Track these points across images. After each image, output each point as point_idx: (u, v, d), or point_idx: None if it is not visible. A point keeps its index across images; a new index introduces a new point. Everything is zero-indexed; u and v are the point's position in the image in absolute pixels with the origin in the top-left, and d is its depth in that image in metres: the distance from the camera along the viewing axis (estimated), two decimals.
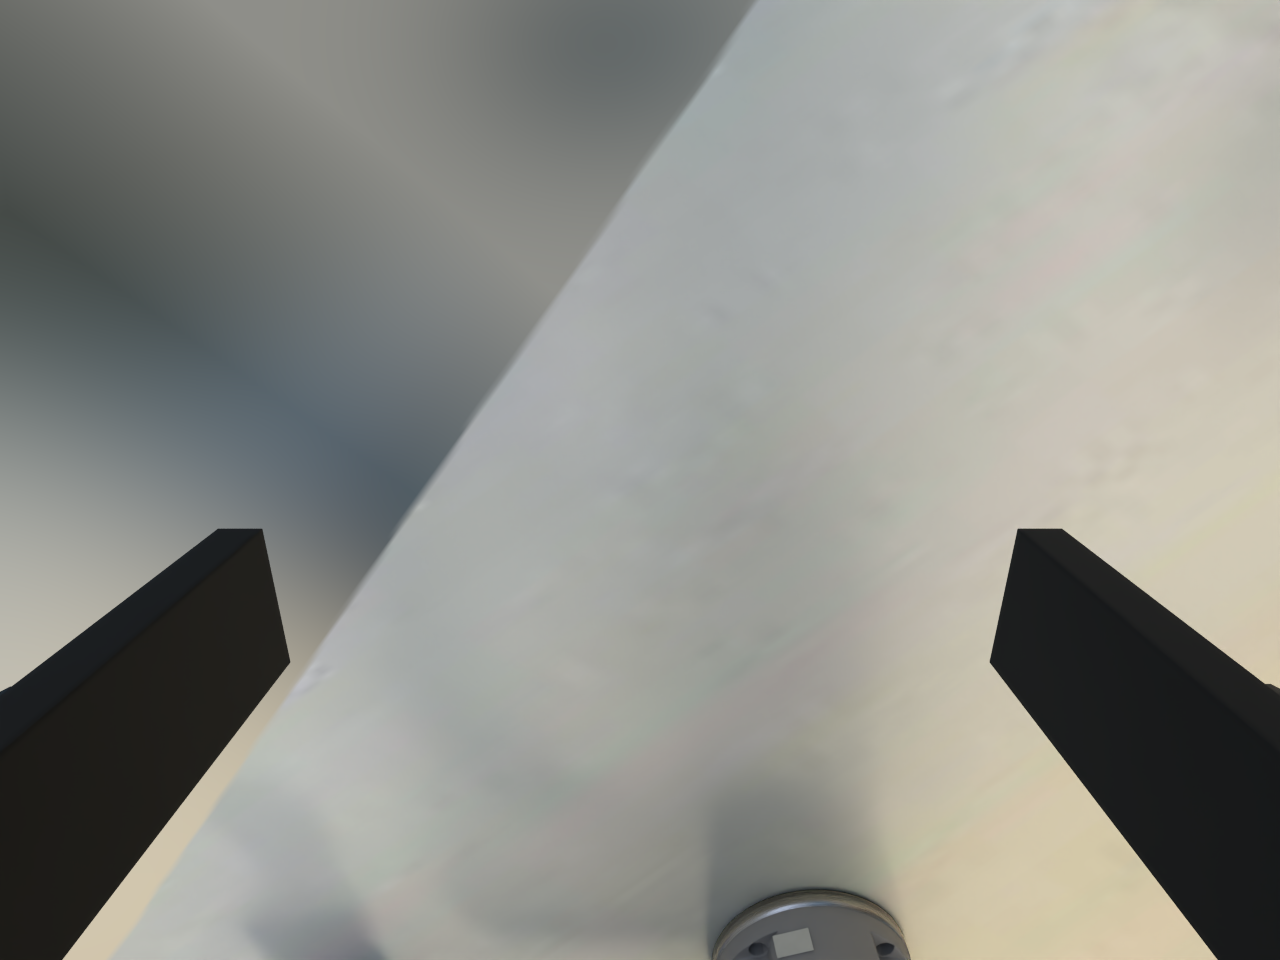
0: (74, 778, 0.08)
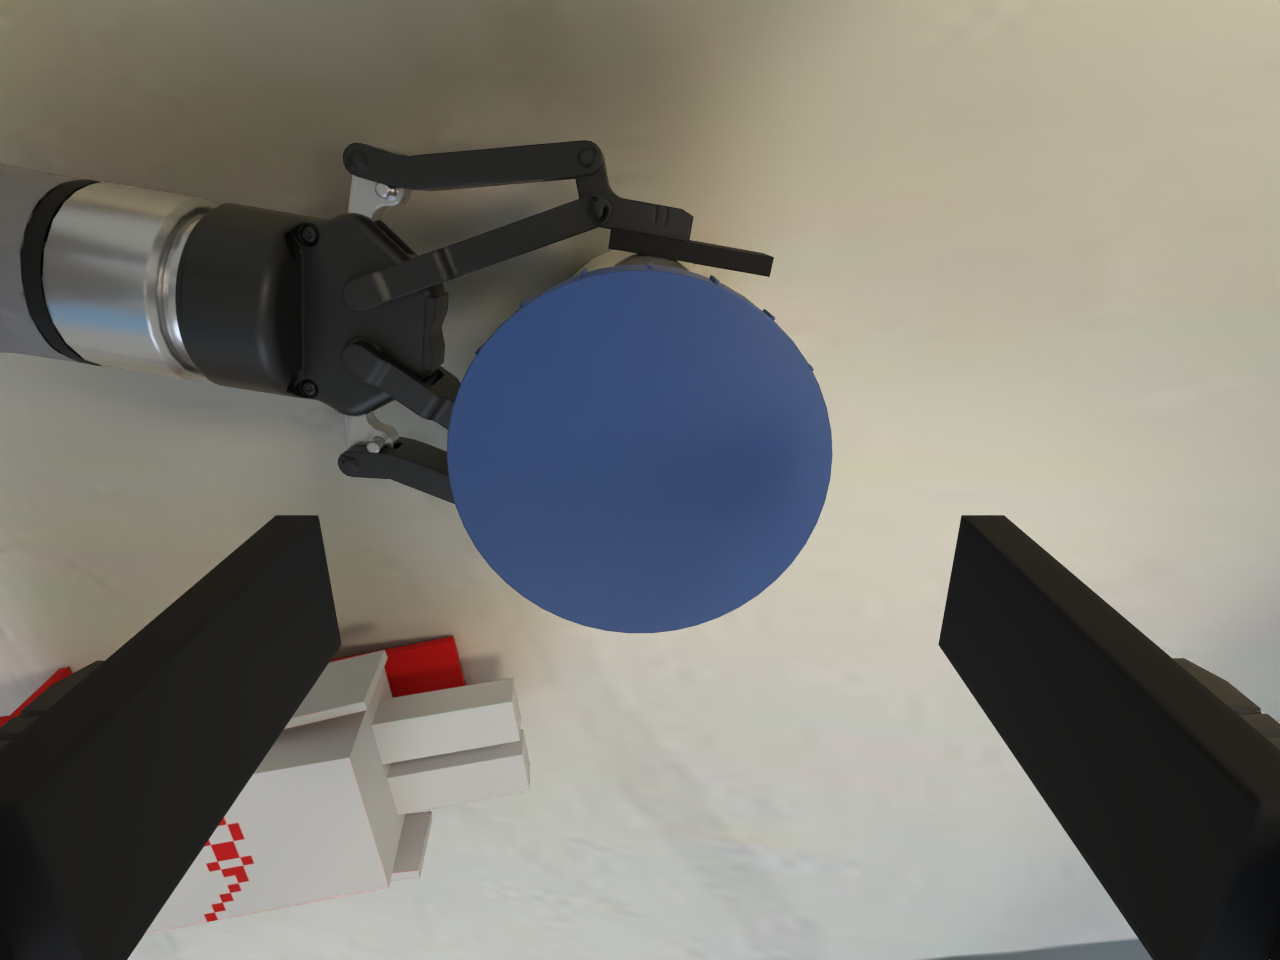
0: (168, 743, 0.09)
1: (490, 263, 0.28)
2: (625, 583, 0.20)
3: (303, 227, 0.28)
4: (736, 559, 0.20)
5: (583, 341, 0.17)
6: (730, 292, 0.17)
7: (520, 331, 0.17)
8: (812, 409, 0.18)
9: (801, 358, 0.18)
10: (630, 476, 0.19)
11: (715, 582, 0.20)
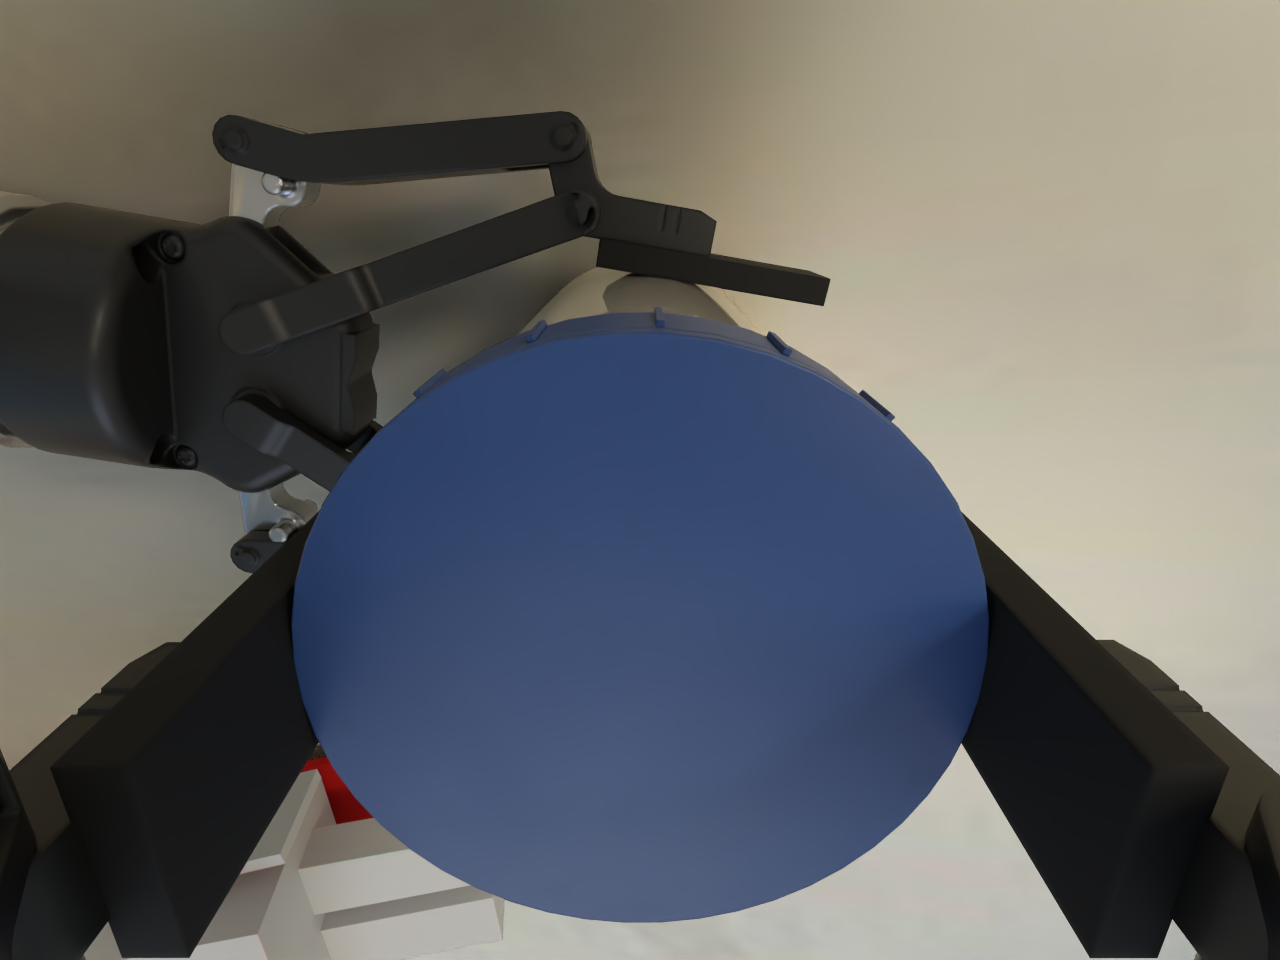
0: (243, 719, 0.09)
1: (429, 287, 0.20)
2: (615, 852, 0.12)
3: (164, 236, 0.20)
4: (807, 817, 0.11)
5: (533, 463, 0.09)
6: (816, 374, 0.09)
7: (413, 445, 0.09)
8: (958, 581, 0.10)
9: (945, 494, 0.09)
10: (623, 690, 0.10)
11: (769, 851, 0.12)
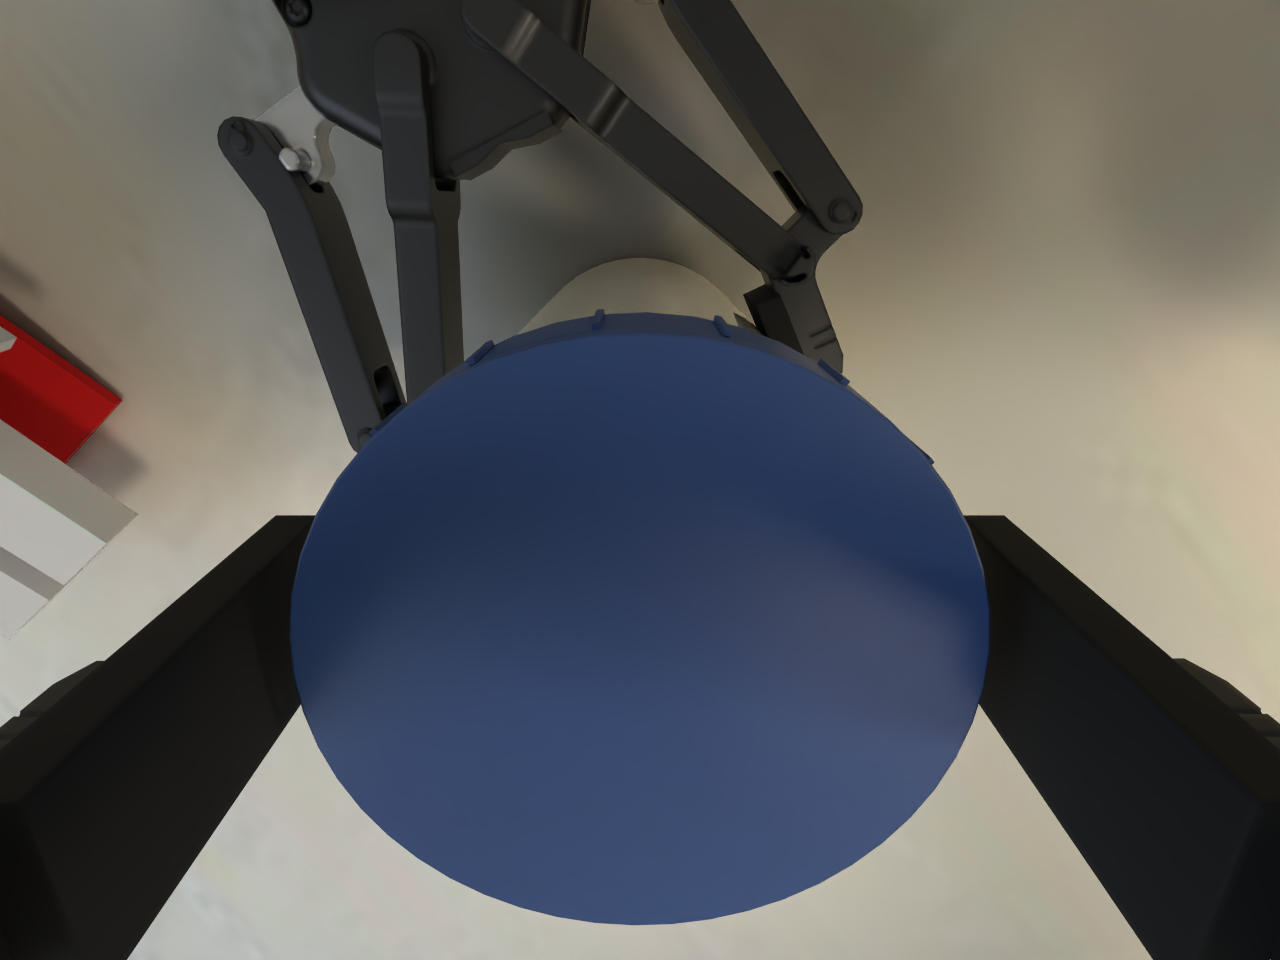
0: (167, 743, 0.09)
1: (646, 171, 0.19)
2: (779, 817, 0.11)
3: None
4: (899, 671, 0.10)
5: (396, 605, 0.10)
6: (489, 363, 0.09)
7: (319, 663, 0.10)
8: (785, 390, 0.09)
9: (687, 341, 0.09)
10: (638, 698, 0.10)
11: (901, 722, 0.11)
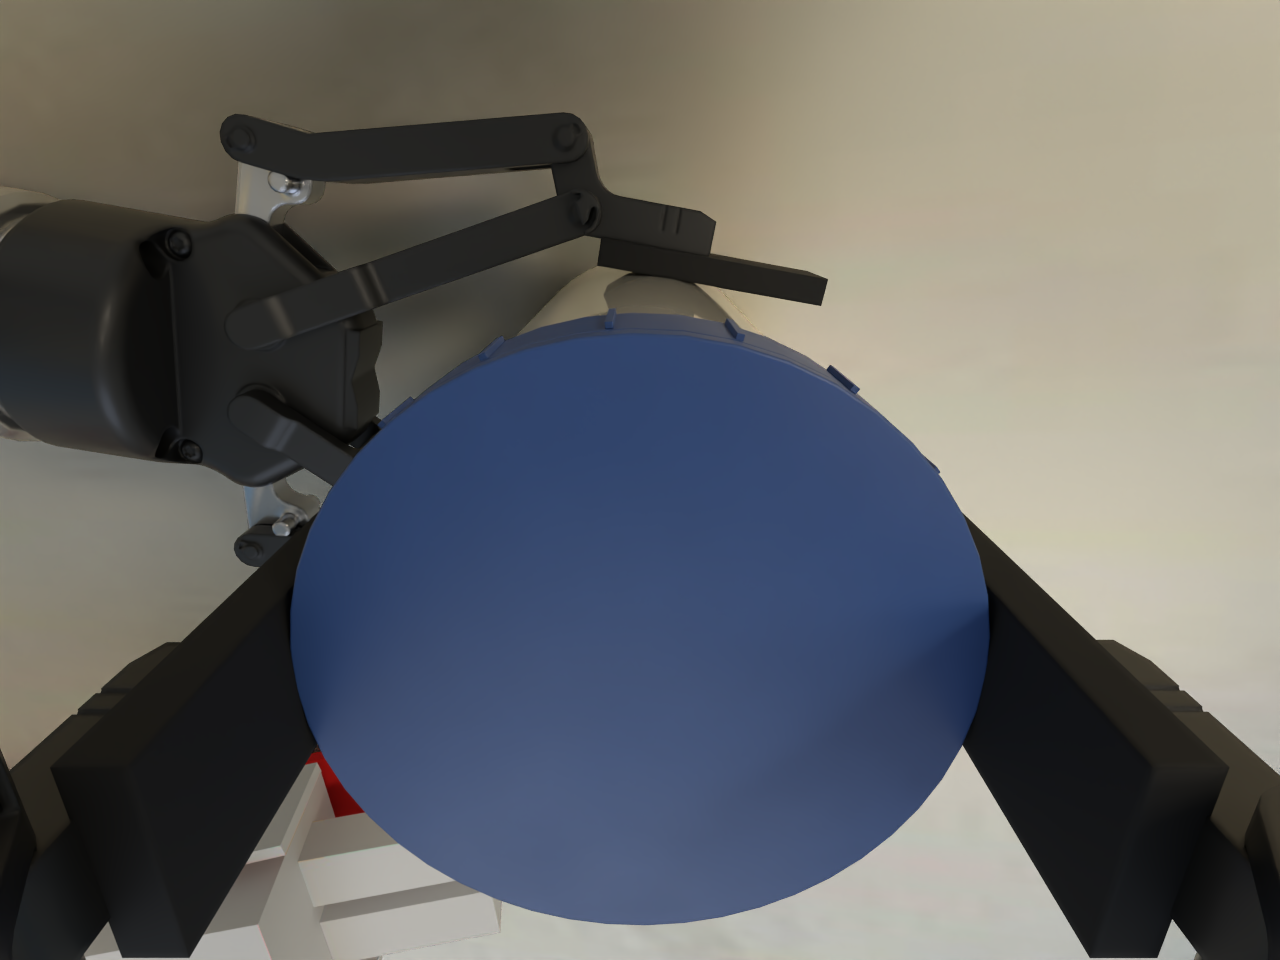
0: (243, 718, 0.09)
1: (433, 285, 0.20)
2: (875, 663, 0.10)
3: (171, 232, 0.20)
4: (795, 478, 0.09)
5: (448, 790, 0.11)
6: (290, 610, 0.10)
7: (462, 863, 0.12)
8: (439, 420, 0.09)
9: (352, 468, 0.09)
10: (656, 692, 0.10)
11: (855, 507, 0.09)
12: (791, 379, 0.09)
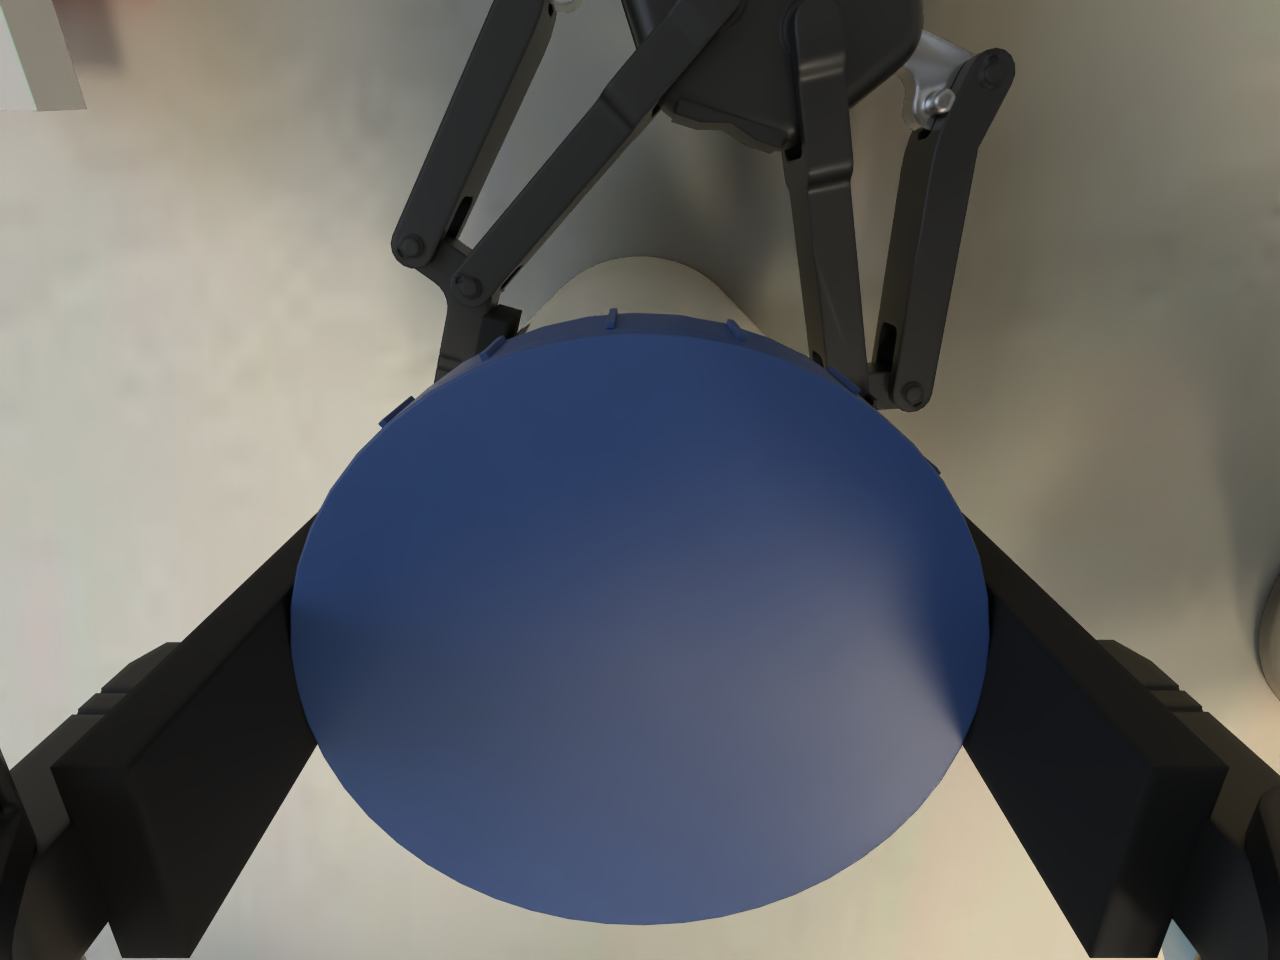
0: (243, 719, 0.09)
1: (815, 244, 0.20)
2: (875, 664, 0.10)
3: None
4: (796, 478, 0.09)
5: (447, 789, 0.11)
6: (290, 609, 0.10)
7: (461, 863, 0.12)
8: (440, 419, 0.09)
9: (353, 467, 0.09)
10: (656, 692, 0.10)
11: (856, 507, 0.09)
12: (792, 379, 0.09)
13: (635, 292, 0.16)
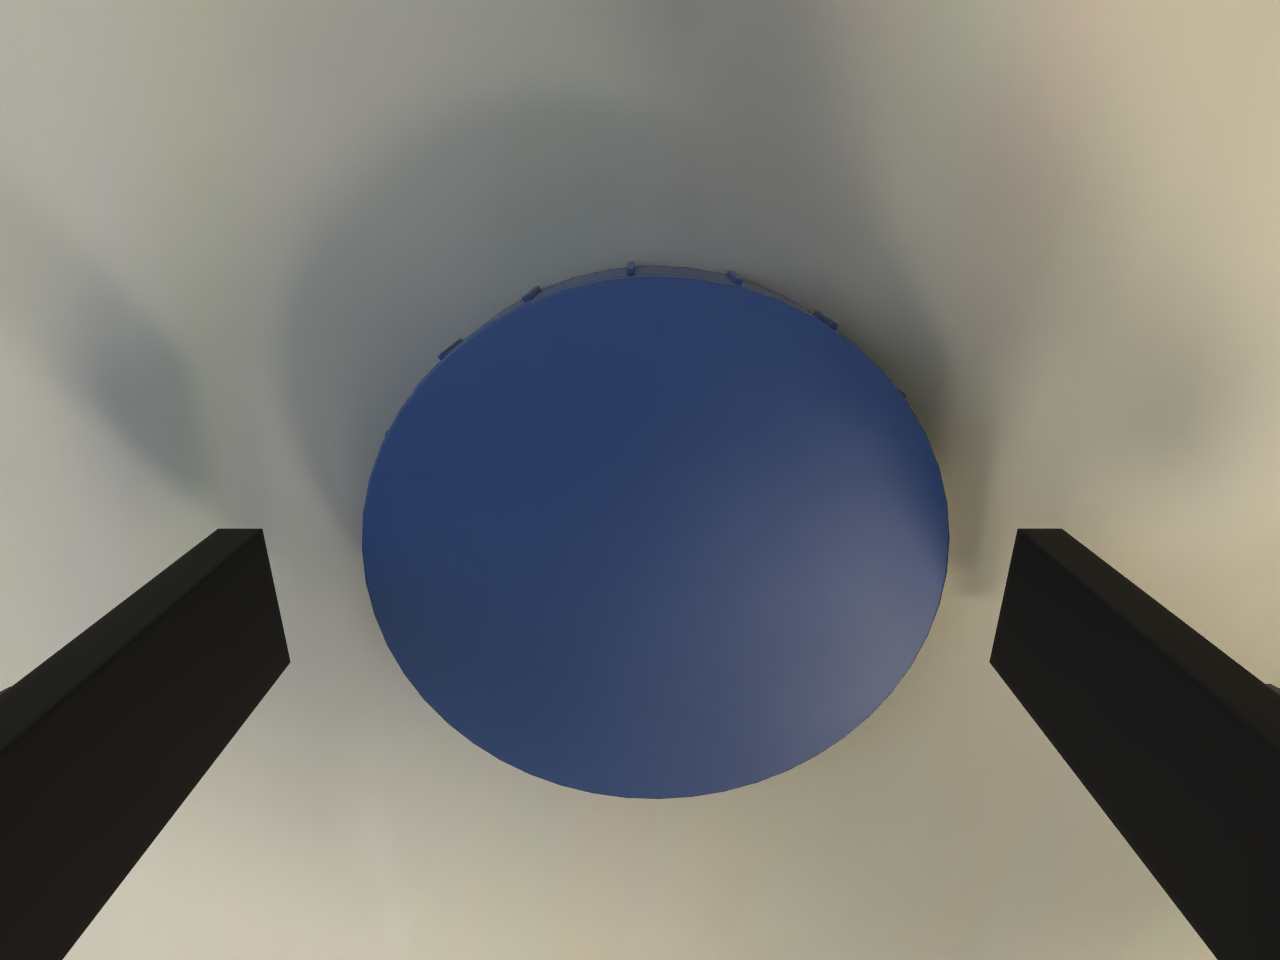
0: (74, 778, 0.08)
1: None
2: (853, 561, 0.12)
3: None
4: (785, 399, 0.11)
5: (491, 674, 0.13)
6: (363, 515, 0.12)
7: (502, 741, 0.14)
8: (491, 350, 0.11)
9: (418, 391, 0.11)
10: (668, 587, 0.12)
11: (835, 424, 0.11)
12: (780, 315, 0.11)
13: None
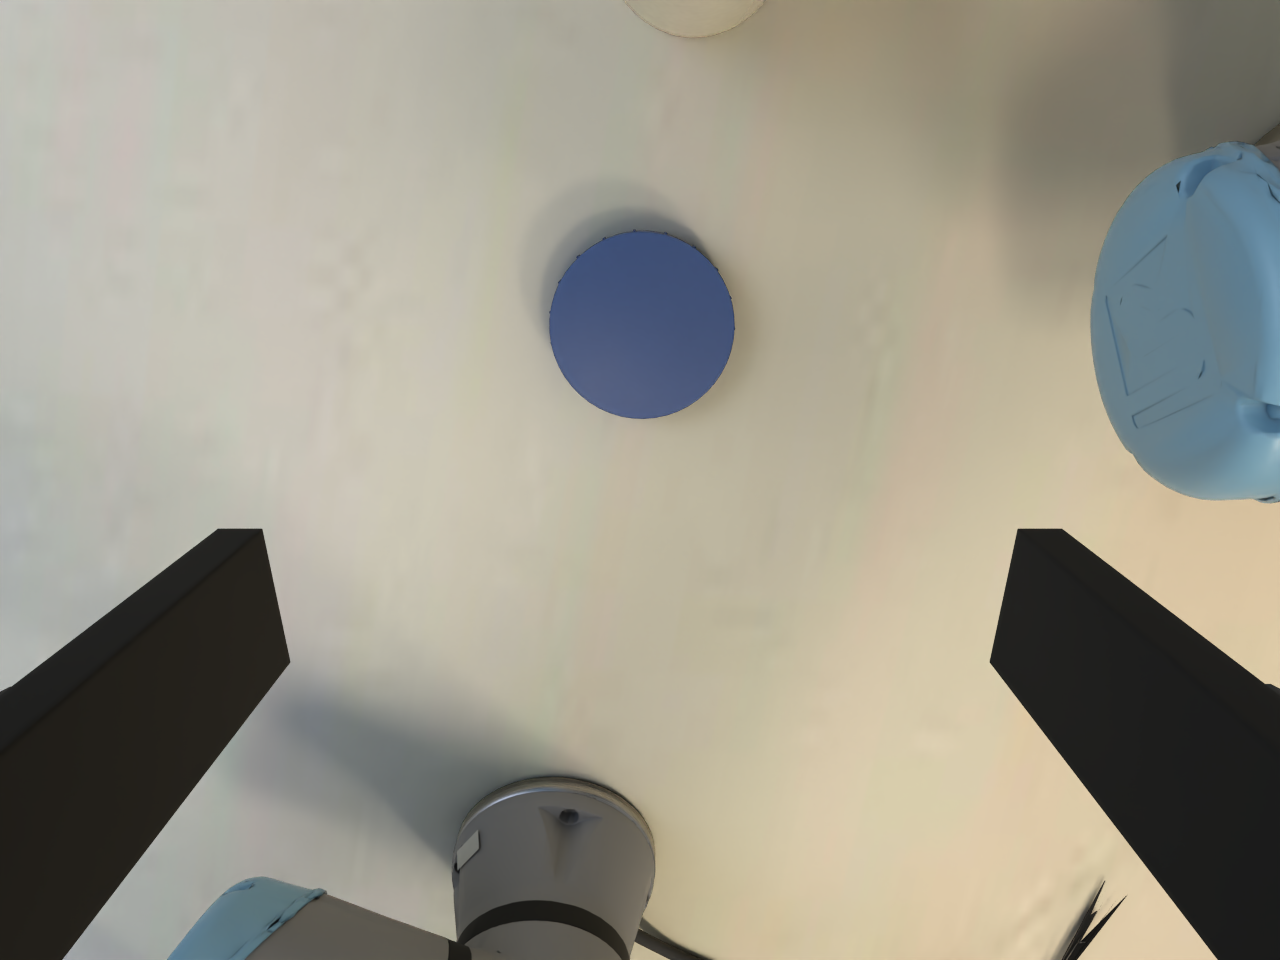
0: (74, 778, 0.08)
1: None
2: (704, 323, 0.39)
3: None
4: (680, 269, 0.38)
5: (588, 366, 0.39)
6: (551, 307, 0.38)
7: (590, 394, 0.40)
8: (594, 253, 0.37)
9: (571, 266, 0.38)
10: (646, 333, 0.39)
11: (695, 276, 0.38)
12: (677, 243, 0.37)
13: None
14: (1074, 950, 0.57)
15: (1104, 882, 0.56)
